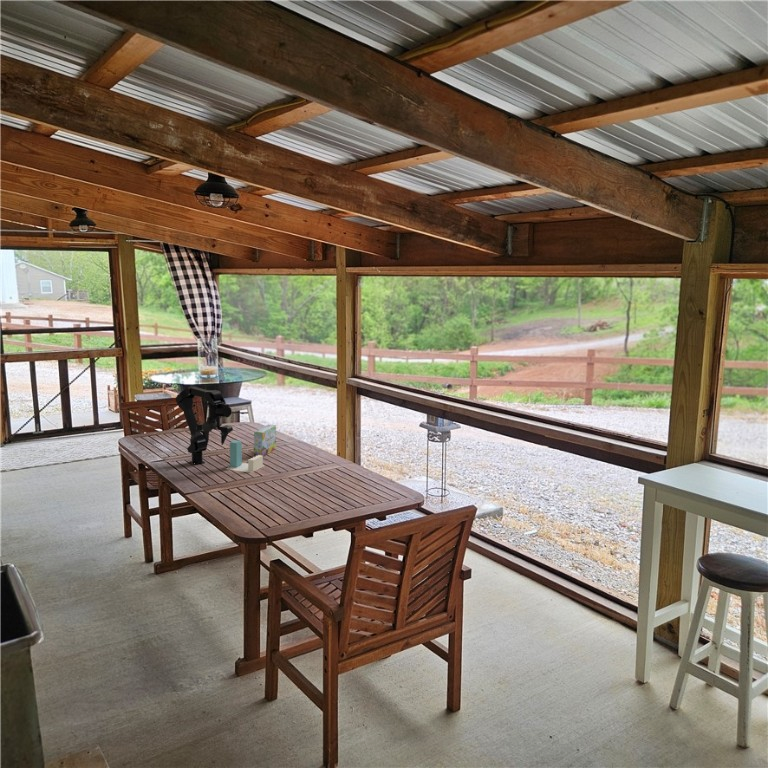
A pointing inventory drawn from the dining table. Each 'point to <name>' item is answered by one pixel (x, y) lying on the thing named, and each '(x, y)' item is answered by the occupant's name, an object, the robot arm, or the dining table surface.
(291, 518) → the dining table surface
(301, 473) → the dining table surface
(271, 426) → the snack box
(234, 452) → the tall teal pillar
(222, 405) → the robot arm
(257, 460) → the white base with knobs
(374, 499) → the dining table surface
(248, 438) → the dining table surface
